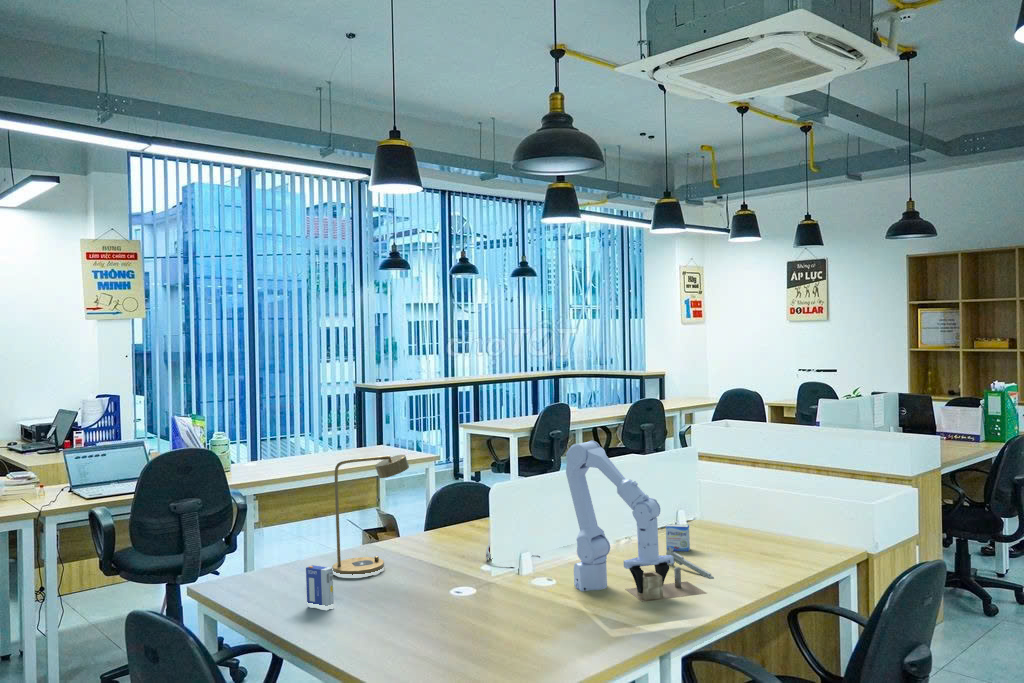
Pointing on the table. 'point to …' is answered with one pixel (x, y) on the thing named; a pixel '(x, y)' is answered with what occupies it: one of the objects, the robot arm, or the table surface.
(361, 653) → the table surface
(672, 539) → the medicine box
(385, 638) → the table surface
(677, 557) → the caliper
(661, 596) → the hollow square tube
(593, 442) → the robot arm
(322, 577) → the walkman
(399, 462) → the lamp
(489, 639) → the table surface
